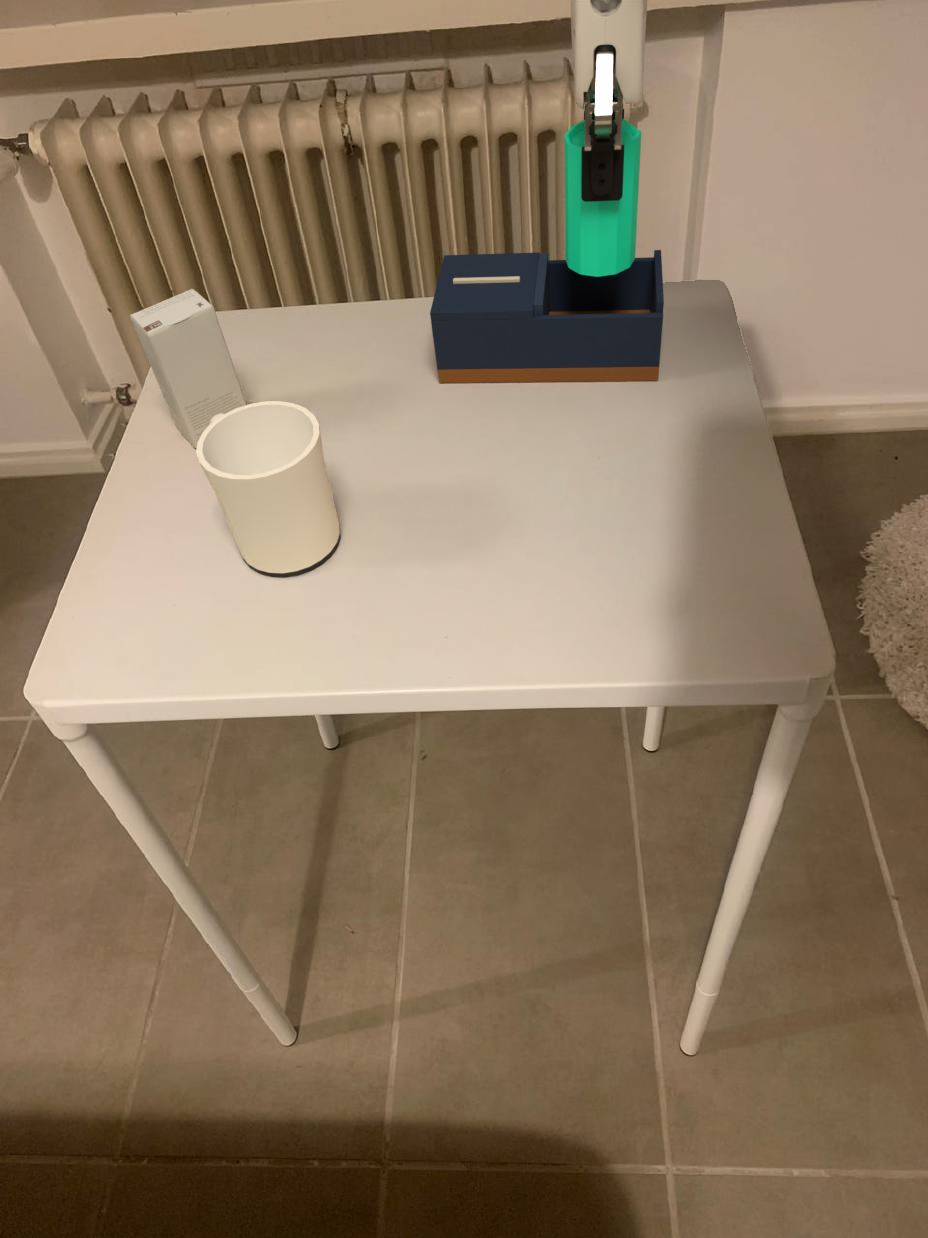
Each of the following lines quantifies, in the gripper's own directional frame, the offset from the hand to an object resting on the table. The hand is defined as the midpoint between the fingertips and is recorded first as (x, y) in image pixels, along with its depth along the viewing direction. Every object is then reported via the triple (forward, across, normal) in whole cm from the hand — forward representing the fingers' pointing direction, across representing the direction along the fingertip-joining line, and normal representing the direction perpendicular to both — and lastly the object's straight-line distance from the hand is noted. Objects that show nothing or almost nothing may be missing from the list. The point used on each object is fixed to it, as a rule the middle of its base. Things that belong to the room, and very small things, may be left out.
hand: (602, 177), depth 75 cm
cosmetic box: (+16, -12, +35) cm, 40 cm away
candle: (+7, 0, 0) cm, 7 cm away
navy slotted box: (+16, 0, +5) cm, 17 cm away
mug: (+16, -26, +25) cm, 39 cm away
